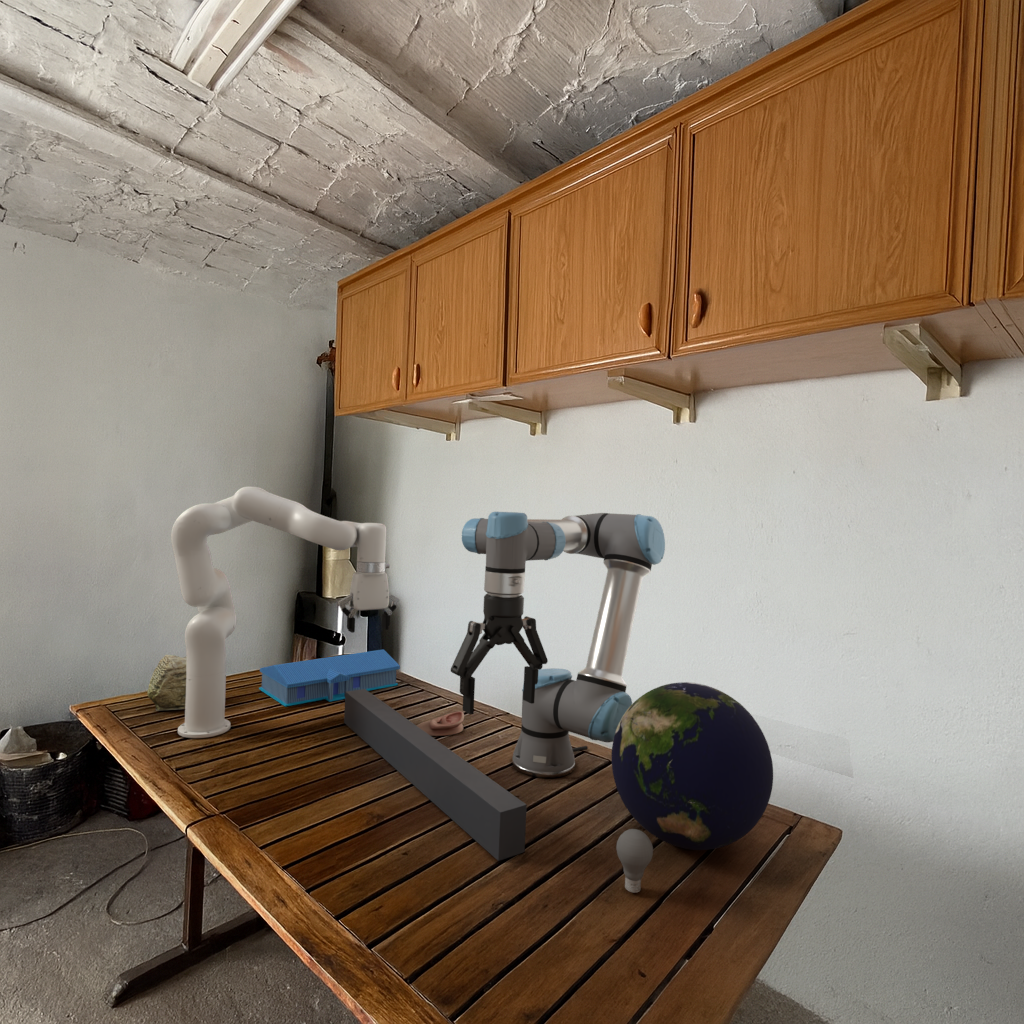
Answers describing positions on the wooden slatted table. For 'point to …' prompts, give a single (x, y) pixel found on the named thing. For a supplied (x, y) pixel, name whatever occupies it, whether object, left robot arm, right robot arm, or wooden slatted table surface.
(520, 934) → the wooden slatted table surface
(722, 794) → the globe
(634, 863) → the light bulb
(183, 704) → the fossil
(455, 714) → the anatomical model
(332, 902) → the wooden slatted table surface
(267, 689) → the model building
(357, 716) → the beam
